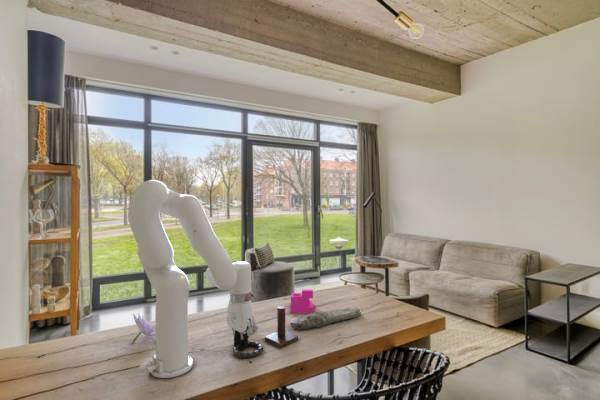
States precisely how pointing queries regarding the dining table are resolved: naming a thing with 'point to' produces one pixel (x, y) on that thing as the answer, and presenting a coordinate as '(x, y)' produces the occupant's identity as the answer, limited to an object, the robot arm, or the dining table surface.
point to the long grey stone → (324, 318)
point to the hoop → (248, 355)
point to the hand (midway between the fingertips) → (240, 347)
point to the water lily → (144, 328)
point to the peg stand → (281, 331)
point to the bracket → (302, 301)
